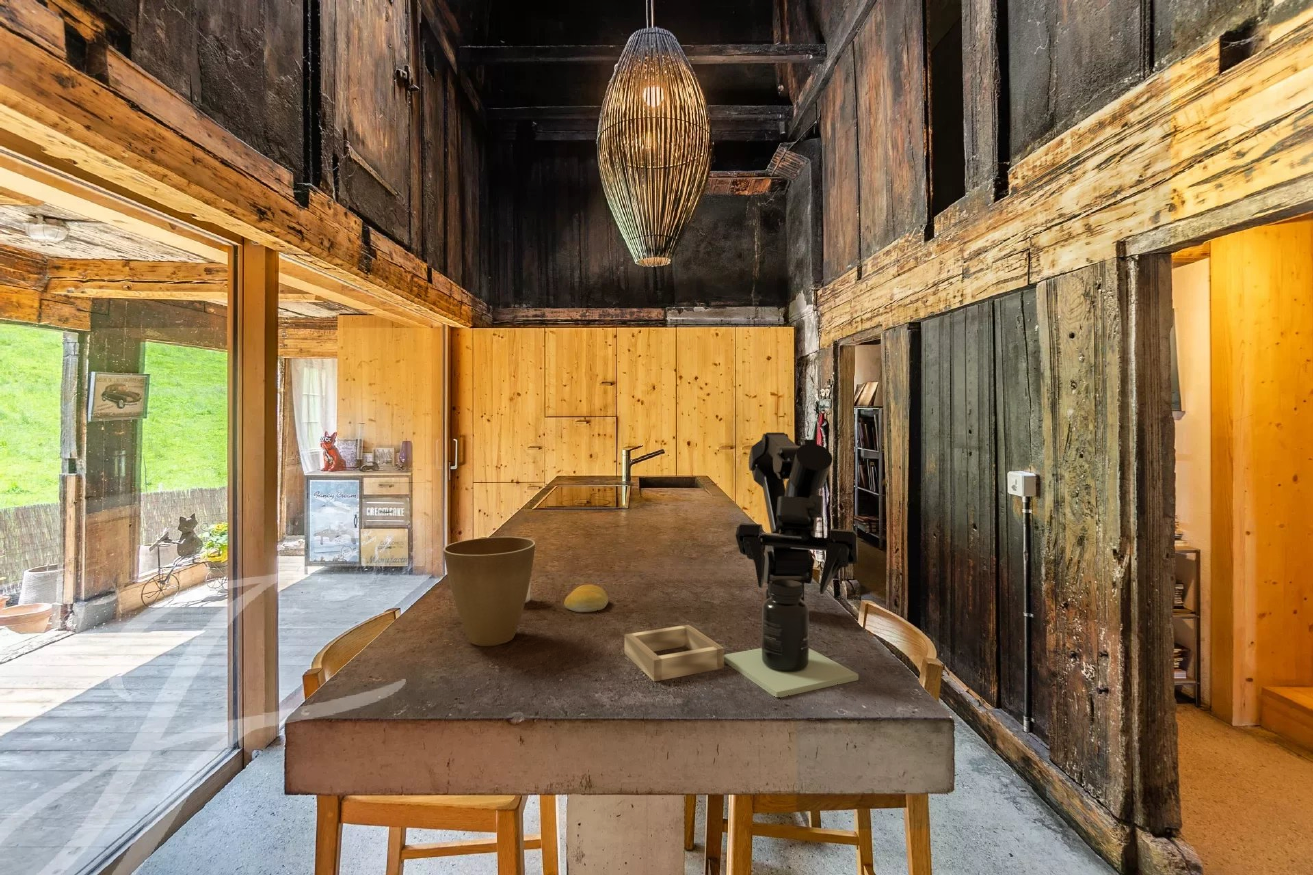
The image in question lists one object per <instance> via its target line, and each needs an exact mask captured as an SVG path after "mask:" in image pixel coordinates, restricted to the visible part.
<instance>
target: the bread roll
mask: <svg viewBox="0 0 1313 875" xmlns="http://www.w3.org/2000/svg"><path fill="white" fill-rule="evenodd" d="M563 603H564V604H563V605H564V607H565V609H567V610H569V611H572V612H575V613H591V612H597V610H598V611H601V610H603V609H605V607H606V606H607V605H608V603H609V597H608V594H607V592H606V591H605V590H604V589H603V588H601V587H600V586H598V585H595V584H582V585H580V586H577V587H576V588H575V589H573V590H572V591H571V593H569V594H568V595H567V596H566V597H565V599H564V602H563Z"/></svg>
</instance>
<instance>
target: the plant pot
mask: <svg viewBox="0 0 1313 875" xmlns="http://www.w3.org/2000/svg"><path fill="white" fill-rule="evenodd" d="M535 548H536V542H535V540H533V539H531V538H527V537H521V536H519V537H518V536H490V537H479V538H478V537H477V538H471V539H465V540H460V541H456V542H452V543H449V544H448V545H445V546H444V547H443V548H442V549H443V551H442V552H443V556H444V561H445V568H446V573H447V577H448V582H449V587H450V590H451V594H452V598H453V601H454V605H455V607H456V610H457V613H458V616H459V618H460V621H461V625H462V627H463V629H464V632H465V634H466V636H467V638H468V641H469V642H470V644H472V645H475V646H480V647H490V646H499V645H502V644H506V643H508V642H510V641H512V640H513V639H514V638H515V637H516V636H515V635H516V633H517V630H518V628H519V624H520V622H521V619H522V615H523V613H524V607H525V605H526V603H525V601H526V597H527V593H528V588H529V583H530V584H531V578H532V574H533V573H532V571H533V568H534V567H533V566H534V560H535V551H536V550H535Z"/></svg>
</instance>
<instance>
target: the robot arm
mask: <svg viewBox="0 0 1313 875" xmlns="http://www.w3.org/2000/svg"><path fill="white" fill-rule="evenodd" d="M832 463H833V455H832V453H831V452H830V451H829V450H828V449H827V448H826V447H824V446H823V445H820V444H817V440H816V438H815V439H812V438H811V439H810V438H809V439H805V438H804V439H803V441H802V445H797V444H796V443H795V442H794V441H793V440H792V439H791V438H790V437H789V435H788V433H785V432H776V431H775V432H774V431H773V432H766V433H762V436H761V439H760V440H759V441H758V442H756V443H754V444H753V445H752V446H751V449H750V452H749V456H748V470H749V471H751V474H752V478H753V481H755V483H757V484H758V486H760V487H761V488H762V491H763V496H764V497H763V498H764V501H765V507H766V513H767V518H768V524H769V528H770V532H764V528H763V527H764V526H763V524H759V523H758V524H757V523H748V522H747V523H745V522H741V523H740V524H739V525H738V526H737V527H736V531H735V535H734V536H735V538H736V541H737V546H738V550H739V554H742V555H744V556H746V558H747V559H748V560H752V561H753V562H754V566H755V567H754V568H755V572H756V578H757V584H758V588H760V589H762V588H763V584H764V582H765V584H767V588H766V590H765V592H766V593H765V594H766V595H765V597H766V598H765V601H766V600H767V599H769V598H770V595H769V593H768V591H769V582H770V581H772V580H779V579H784V580H793V581H797V582H800V583H802V593H803V597H802V598H801V600H802V601H804V602H805V584H808V585H811V584H812V580H813V571H814V566H815V562H816V560H815V558H813V554H812V551H821V552H822V551H823V552H826V553H825V559H824V564H823V568H822V572H821V577H820V581H819V582H820V585H819V594H820V595H824V593H825V592H826V590H827V588H828V586H829V585H830V584H831V582H832V580H833V578H834V577H835V576H836V574H837V573H838V572H839V571H840V570H841V569H842V568H848V566H849V565H854V564H856V563H858V555H859V554H858V548H859V547H858V534H857V532H856V531H855V530H852V529H841V528H840V529H839V528H838V529H837V528H831V529H830V531H829V537H821V536H816V533H817V532H816V531H817V530H816V529H817V523H818V519H822V518H823V516H824V515H823V513H824V496H823V495H821V494H820V493H821V492H820V491H821V489H823V488H824V485H825V482H826V480H827V477H828V475H829V472H830V469H831V467H832V466H831V465H832ZM786 480H787V481H786ZM785 482H786V484H785ZM766 547H767V550H766ZM810 550H811V551H810Z"/></svg>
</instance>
